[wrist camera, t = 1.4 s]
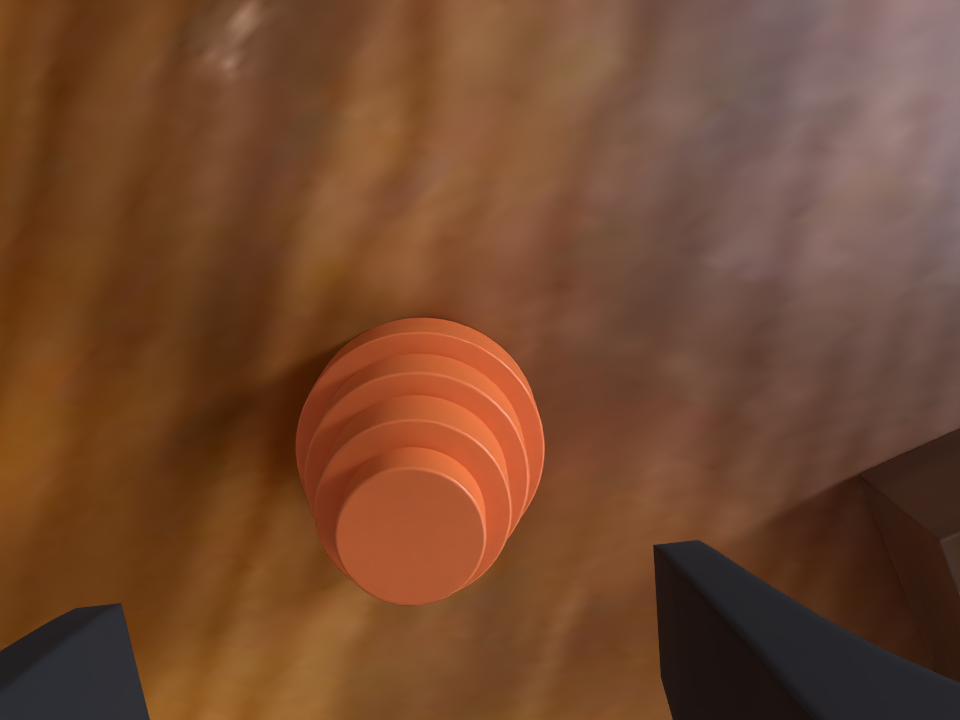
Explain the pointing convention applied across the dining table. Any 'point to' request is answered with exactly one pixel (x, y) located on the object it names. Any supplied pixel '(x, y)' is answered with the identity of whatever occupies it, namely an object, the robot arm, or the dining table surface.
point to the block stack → (925, 539)
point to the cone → (418, 457)
